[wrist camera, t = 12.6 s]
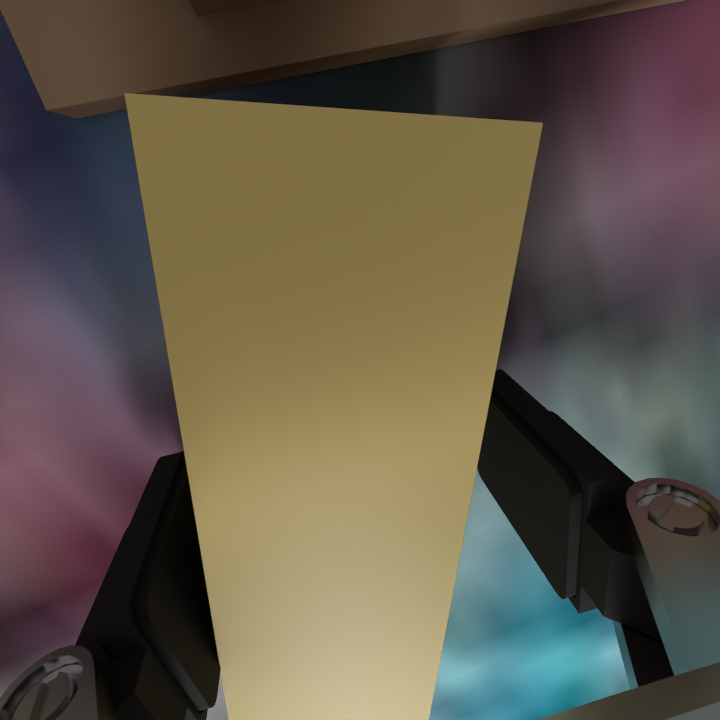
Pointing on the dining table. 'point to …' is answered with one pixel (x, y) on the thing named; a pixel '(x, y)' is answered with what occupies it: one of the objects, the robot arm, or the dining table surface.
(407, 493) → the tan wooden bar
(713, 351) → the dining table surface
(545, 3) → the jig
